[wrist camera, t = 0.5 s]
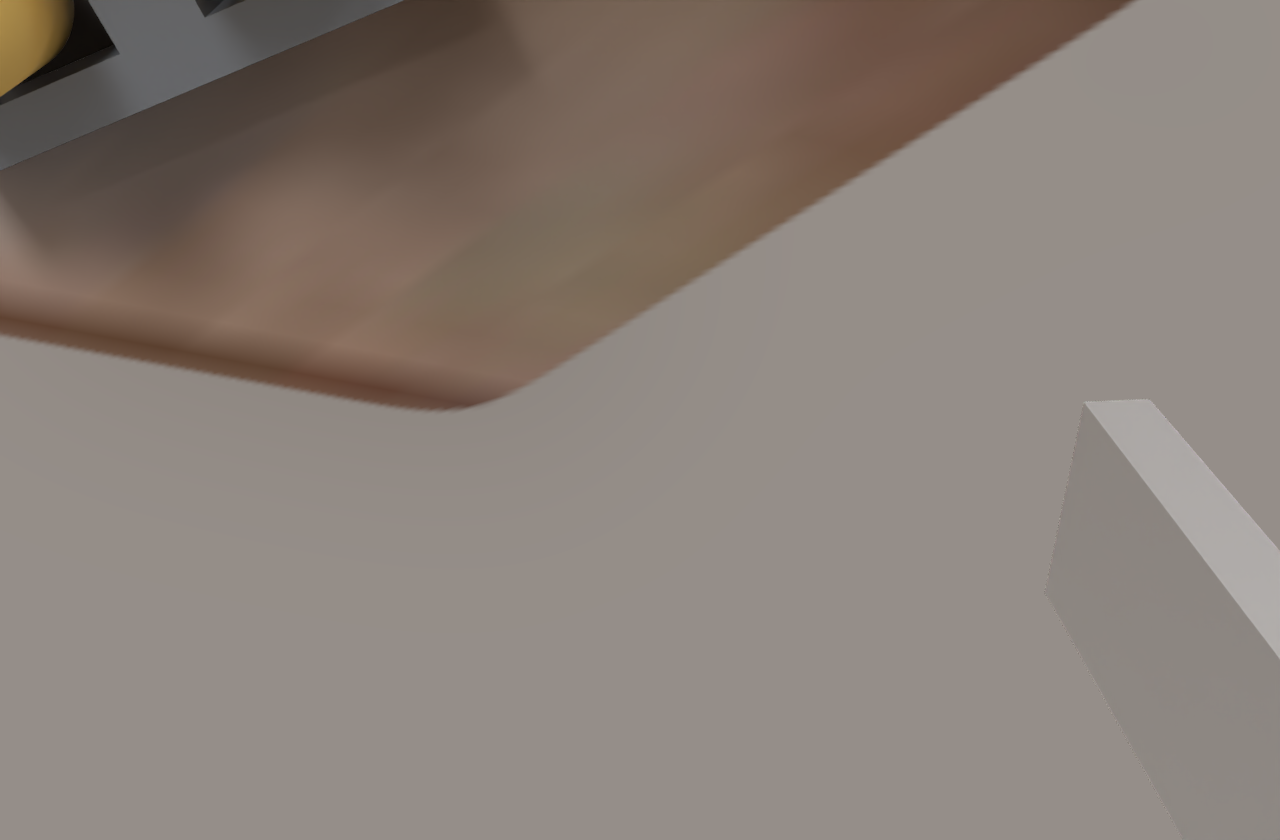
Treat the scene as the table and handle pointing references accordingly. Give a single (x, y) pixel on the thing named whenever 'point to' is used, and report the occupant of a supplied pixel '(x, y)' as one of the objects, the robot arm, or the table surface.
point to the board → (158, 61)
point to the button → (31, 36)
